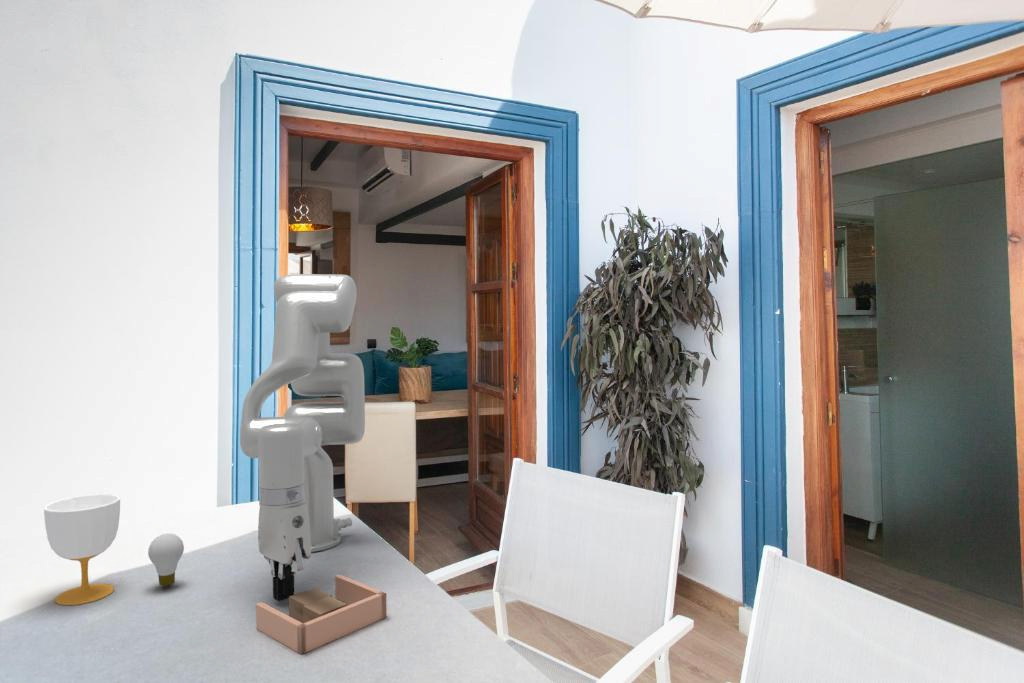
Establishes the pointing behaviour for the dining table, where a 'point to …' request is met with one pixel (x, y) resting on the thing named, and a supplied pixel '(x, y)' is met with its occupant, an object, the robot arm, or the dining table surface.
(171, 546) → the light bulb
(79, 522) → the cup
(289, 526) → the robot arm
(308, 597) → the walnut tile
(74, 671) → the dining table surface
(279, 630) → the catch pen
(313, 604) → the walnut tile
